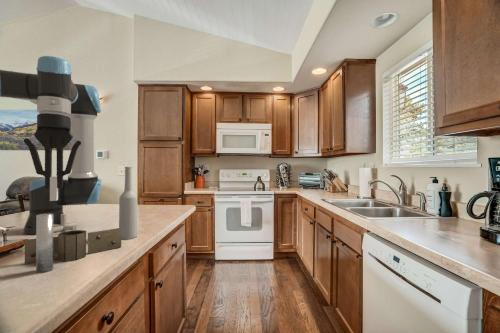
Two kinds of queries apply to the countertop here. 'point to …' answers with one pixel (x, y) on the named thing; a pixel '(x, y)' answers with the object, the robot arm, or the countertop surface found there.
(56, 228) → the pipe connector
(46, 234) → the hinge pin
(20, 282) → the countertop surface
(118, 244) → the loose leaf
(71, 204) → the robot arm
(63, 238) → the knuckle and fixed leaf
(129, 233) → the bottle
